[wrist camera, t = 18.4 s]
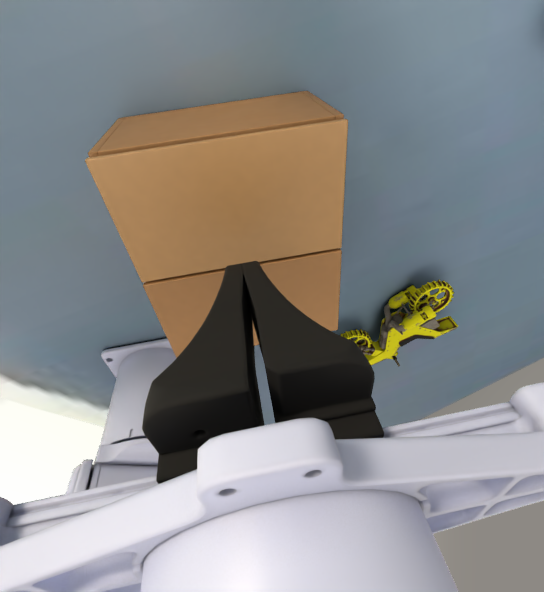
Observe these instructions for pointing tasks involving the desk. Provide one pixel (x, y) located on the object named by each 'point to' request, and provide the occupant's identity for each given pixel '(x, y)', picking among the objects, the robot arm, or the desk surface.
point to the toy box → (205, 285)
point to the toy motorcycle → (407, 322)
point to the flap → (227, 198)
